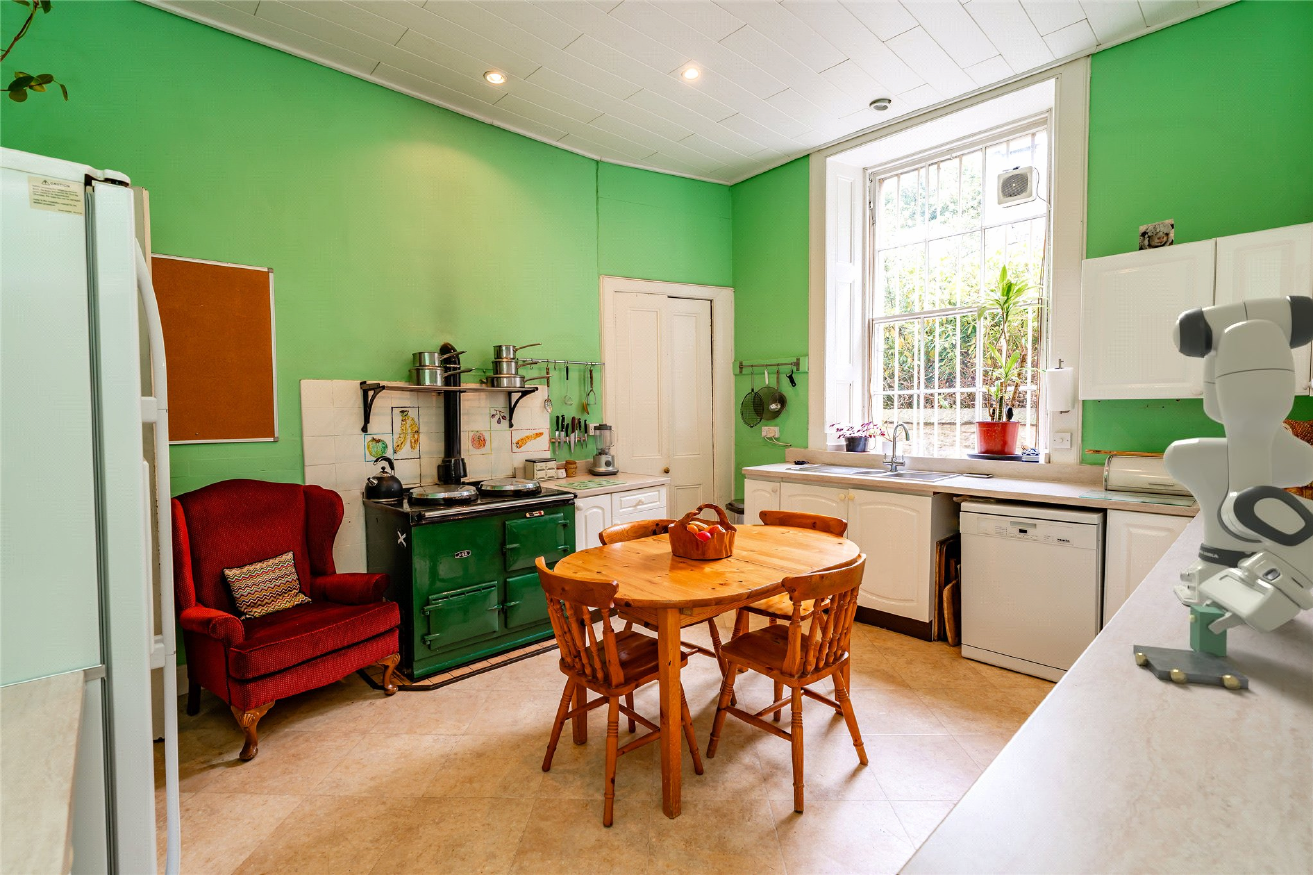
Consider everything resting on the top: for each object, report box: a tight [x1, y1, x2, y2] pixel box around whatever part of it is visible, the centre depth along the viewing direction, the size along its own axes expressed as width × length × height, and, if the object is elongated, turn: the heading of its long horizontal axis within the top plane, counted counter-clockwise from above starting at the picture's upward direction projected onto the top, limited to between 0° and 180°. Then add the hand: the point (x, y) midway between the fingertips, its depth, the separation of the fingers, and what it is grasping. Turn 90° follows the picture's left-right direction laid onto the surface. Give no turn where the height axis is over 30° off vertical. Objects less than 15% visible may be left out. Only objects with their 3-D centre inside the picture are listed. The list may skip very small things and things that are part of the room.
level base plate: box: [1132, 644, 1249, 691], centre depth 108 cm, size 13×13×2 cm
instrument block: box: [1189, 605, 1228, 658], centre depth 116 cm, size 4×5×8 cm
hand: (1203, 625), depth 116 cm, fingers closed on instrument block, 4 cm apart
